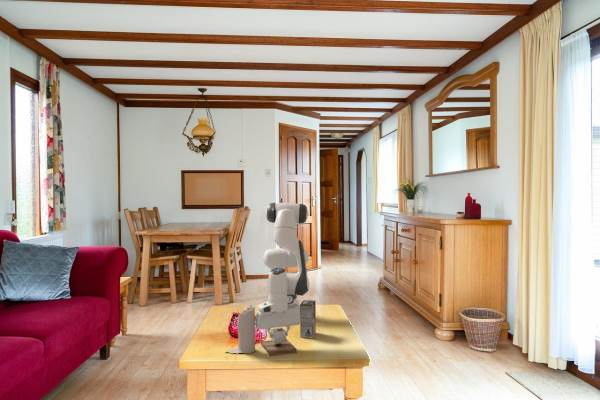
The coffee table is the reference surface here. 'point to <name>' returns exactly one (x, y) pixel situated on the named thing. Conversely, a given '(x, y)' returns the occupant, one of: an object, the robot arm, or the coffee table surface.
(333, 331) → the coffee table surface
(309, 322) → the coffee box
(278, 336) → the collar
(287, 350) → the post board
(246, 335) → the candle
